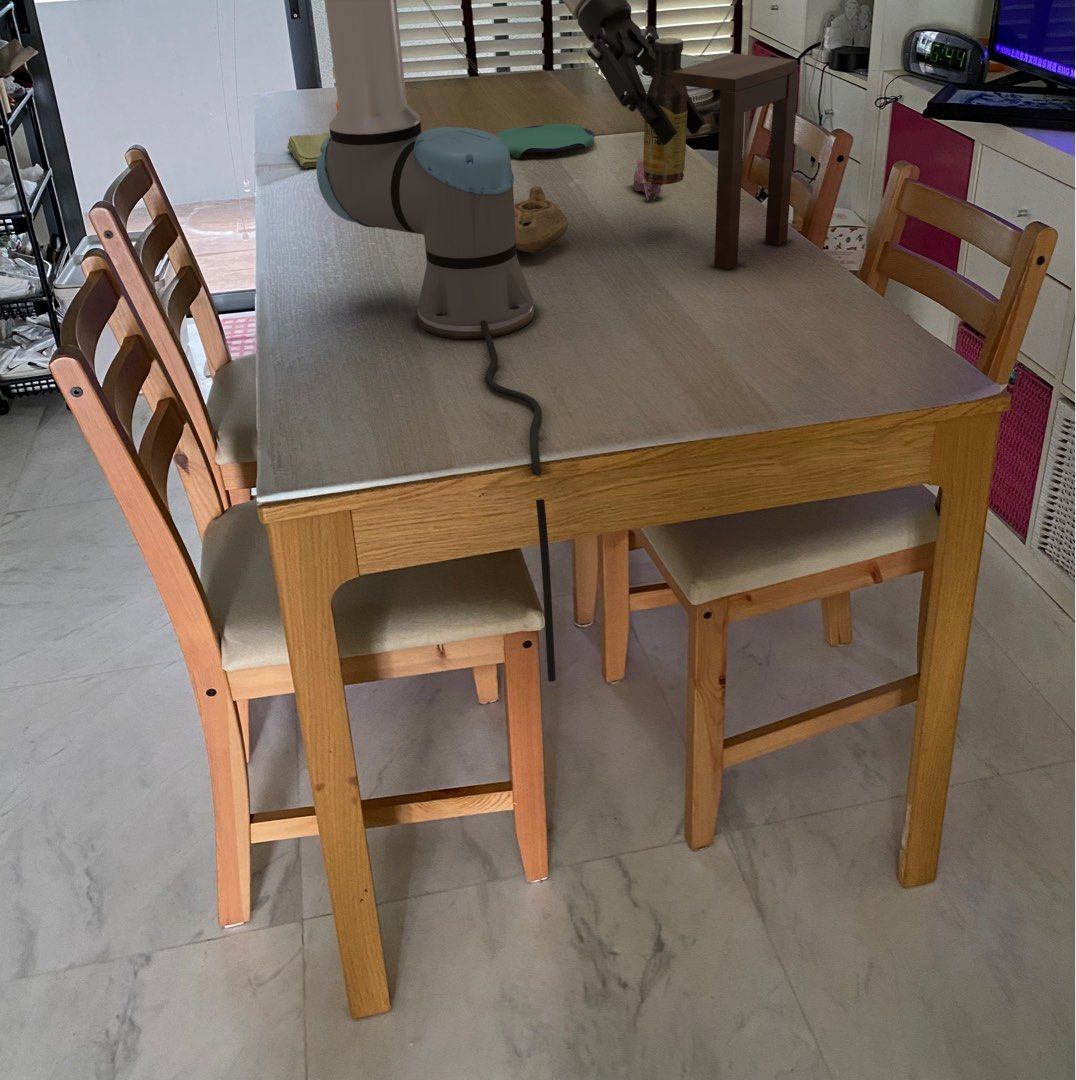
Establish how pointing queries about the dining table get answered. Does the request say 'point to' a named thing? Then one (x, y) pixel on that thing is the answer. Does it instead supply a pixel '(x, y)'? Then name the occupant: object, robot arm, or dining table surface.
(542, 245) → the oil lamp
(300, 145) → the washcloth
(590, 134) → the green pad
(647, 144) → the sauce bottle
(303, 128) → the dining table surface
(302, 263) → the dining table surface
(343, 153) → the robot arm
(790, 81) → the wooden step stool
